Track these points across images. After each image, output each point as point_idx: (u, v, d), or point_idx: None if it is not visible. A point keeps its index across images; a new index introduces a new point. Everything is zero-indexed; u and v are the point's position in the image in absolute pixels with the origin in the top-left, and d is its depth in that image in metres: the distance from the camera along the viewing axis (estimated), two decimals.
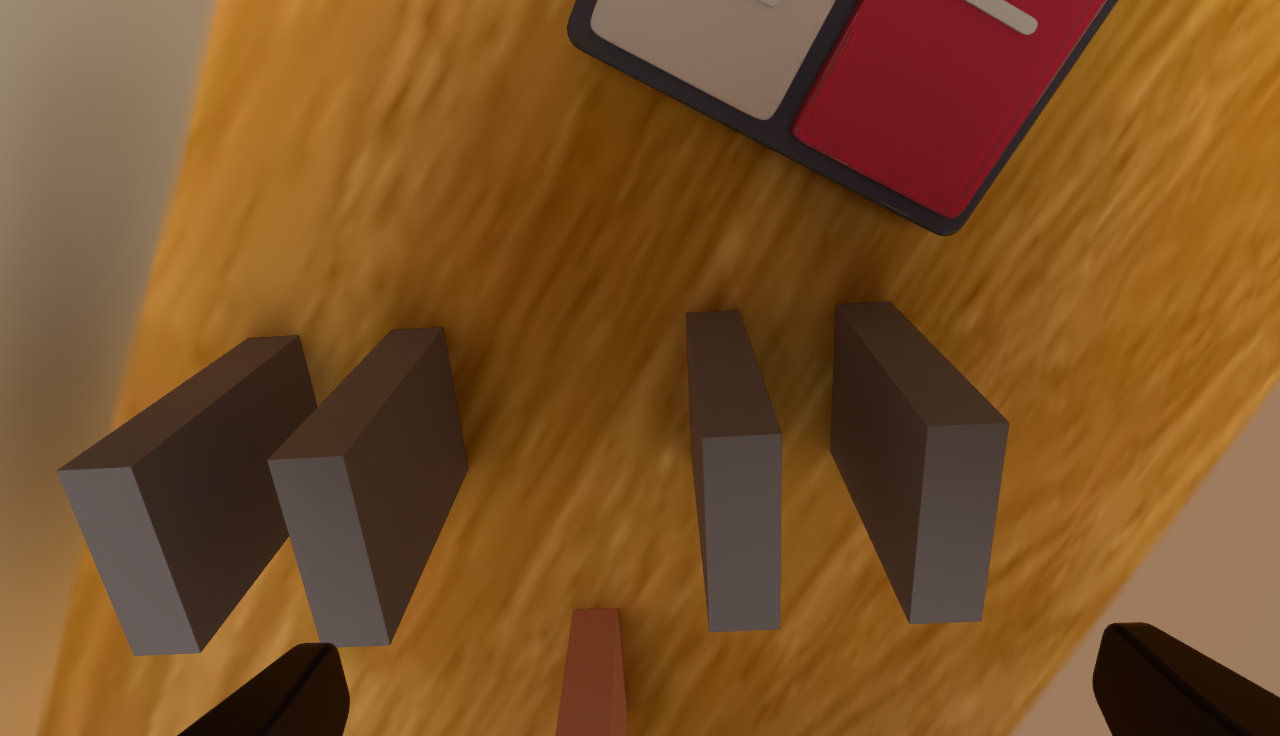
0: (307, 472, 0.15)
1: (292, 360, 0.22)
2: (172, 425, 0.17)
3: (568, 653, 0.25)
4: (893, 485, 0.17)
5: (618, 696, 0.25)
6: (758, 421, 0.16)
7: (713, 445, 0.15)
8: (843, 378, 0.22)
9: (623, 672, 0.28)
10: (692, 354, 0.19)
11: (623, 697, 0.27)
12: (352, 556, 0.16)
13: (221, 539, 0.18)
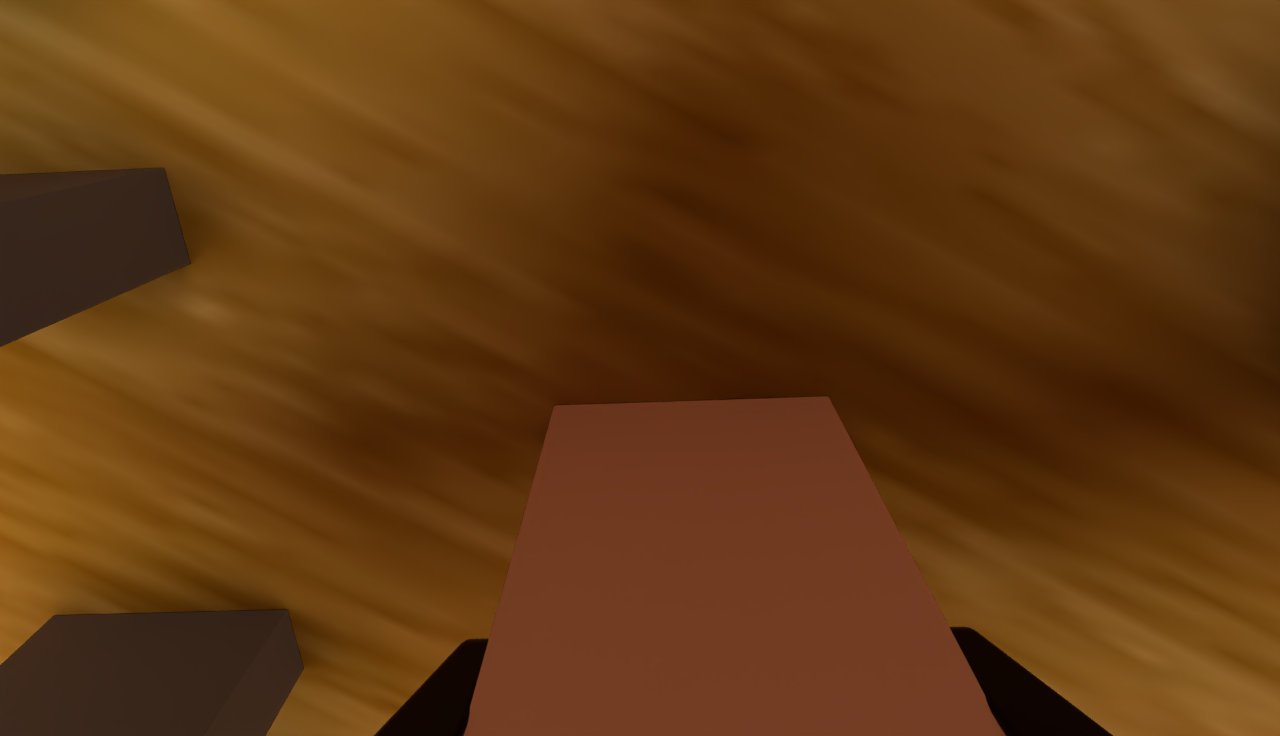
0: None
1: None
2: None
3: None
4: None
5: (646, 468, 0.11)
6: None
7: None
8: None
9: (715, 401, 0.13)
10: None
11: (741, 421, 0.13)
12: None
13: None
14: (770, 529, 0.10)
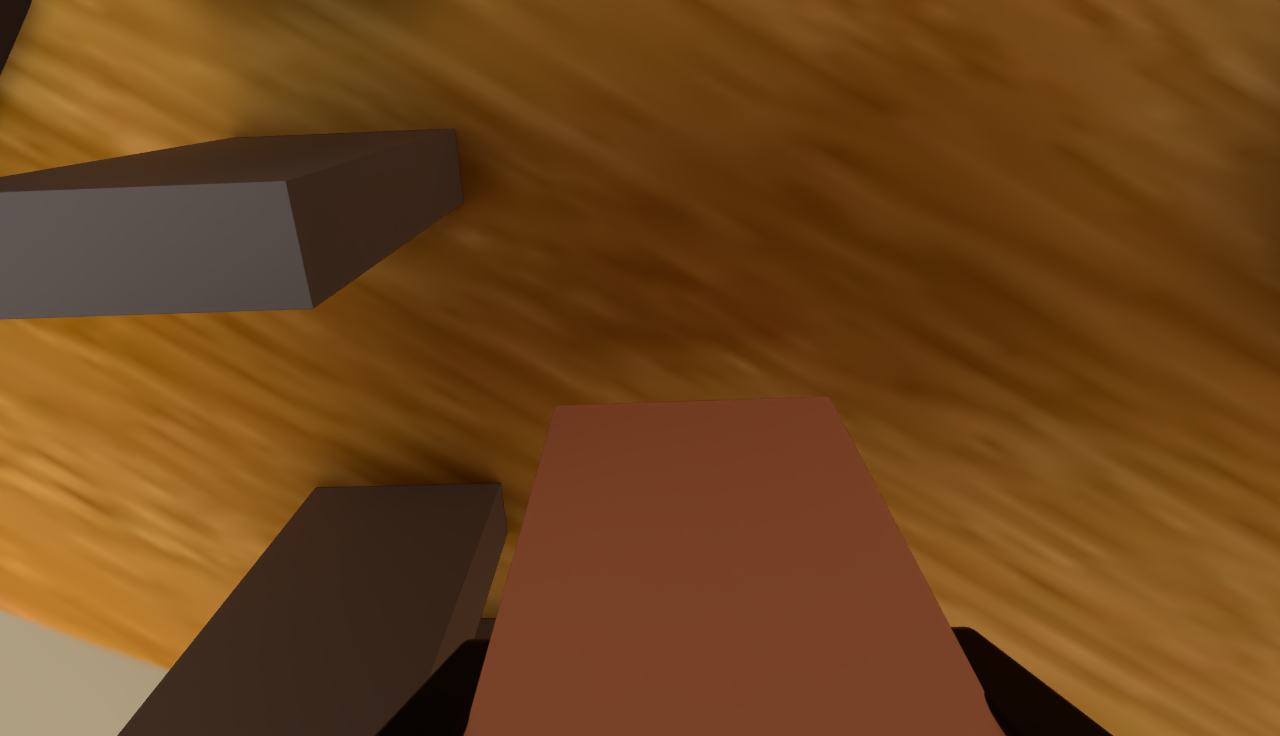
0: None
1: None
2: None
3: None
4: None
5: (647, 469, 0.11)
6: None
7: None
8: None
9: (715, 402, 0.13)
10: None
11: (742, 421, 0.13)
12: None
13: None
14: (772, 530, 0.10)
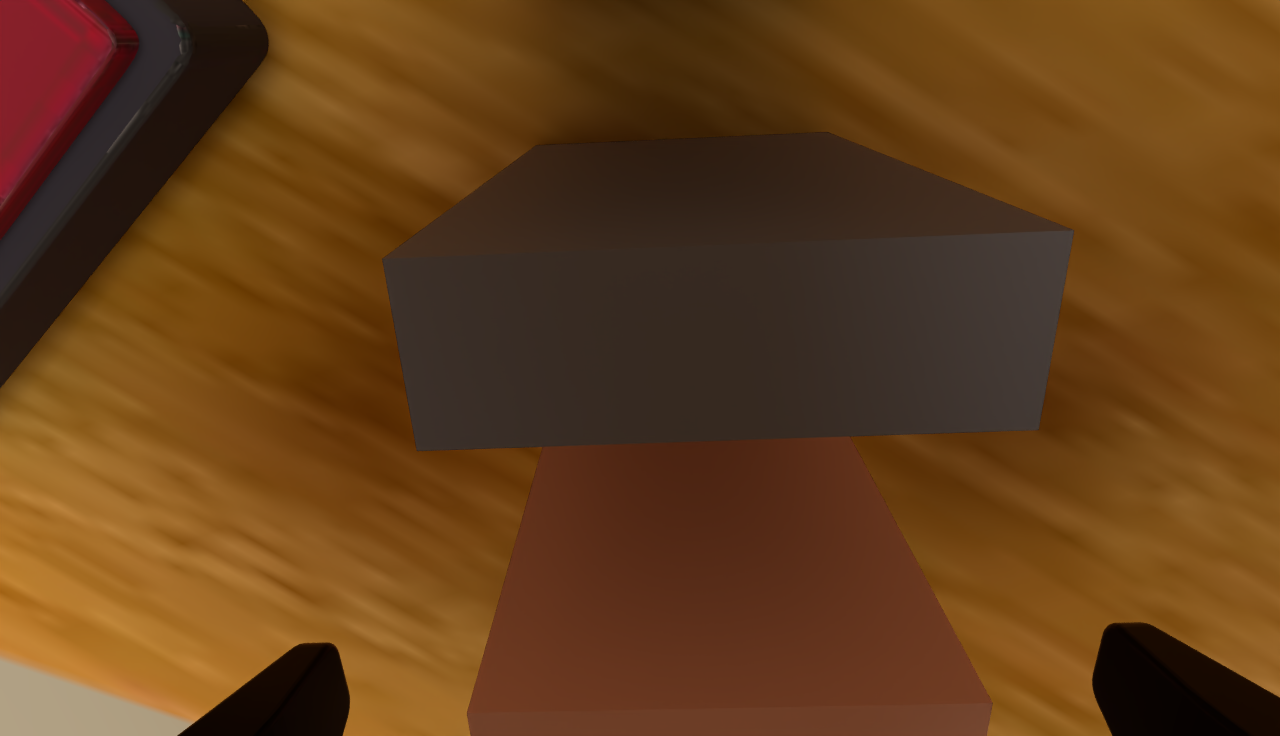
0: None
1: None
2: None
3: None
4: None
5: None
6: None
7: (435, 425, 0.06)
8: None
9: None
10: None
11: None
12: None
13: None
14: (760, 488, 0.11)
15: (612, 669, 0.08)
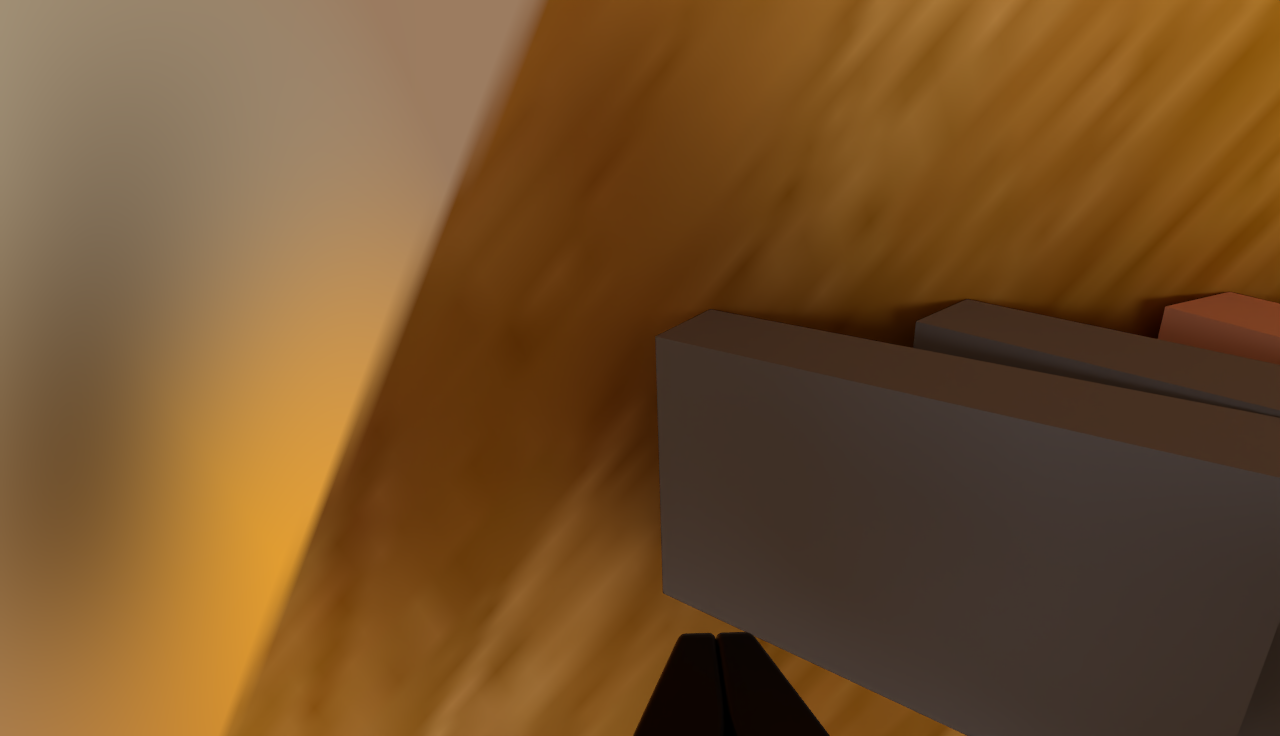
0: None
1: None
2: (1111, 395, 0.09)
3: None
4: None
5: None
6: None
7: None
8: None
9: None
10: None
11: None
12: None
13: None
14: None
15: None
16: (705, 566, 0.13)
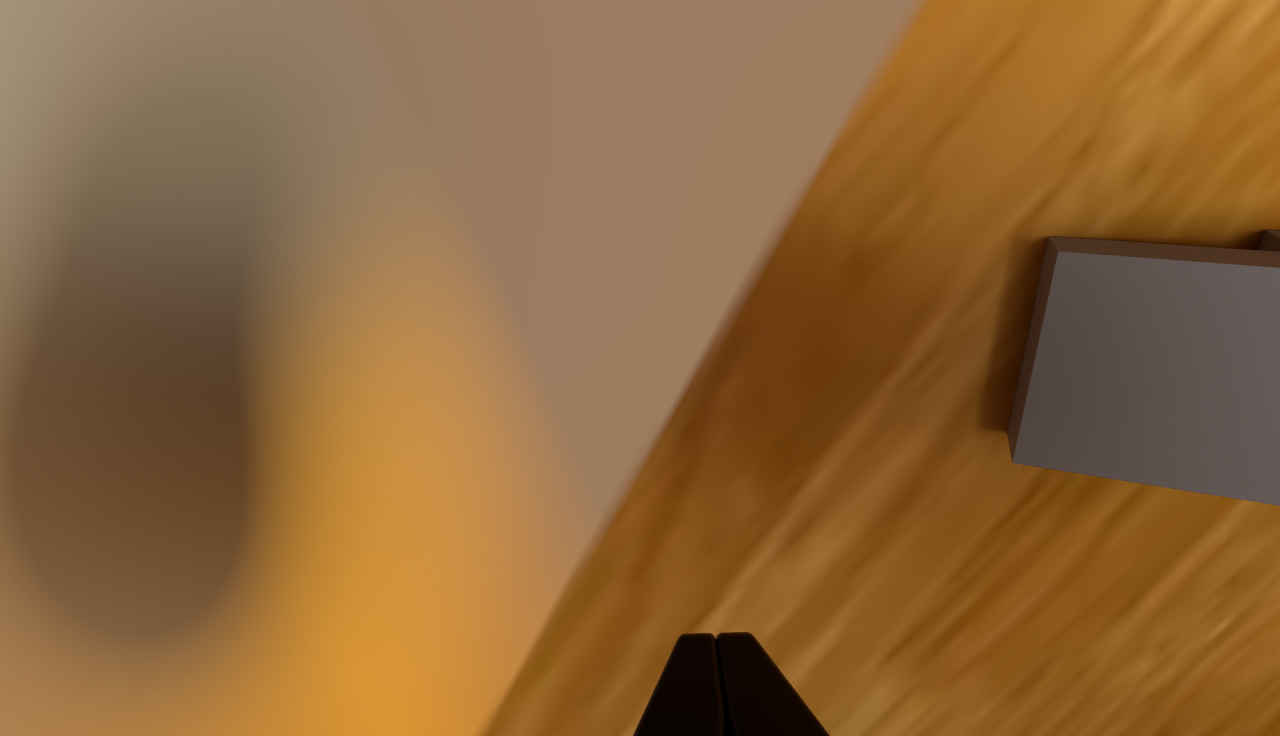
0: None
1: None
2: None
3: None
4: None
5: None
6: None
7: None
8: None
9: None
10: None
11: None
12: None
13: None
14: None
15: None
16: (1066, 431, 0.17)
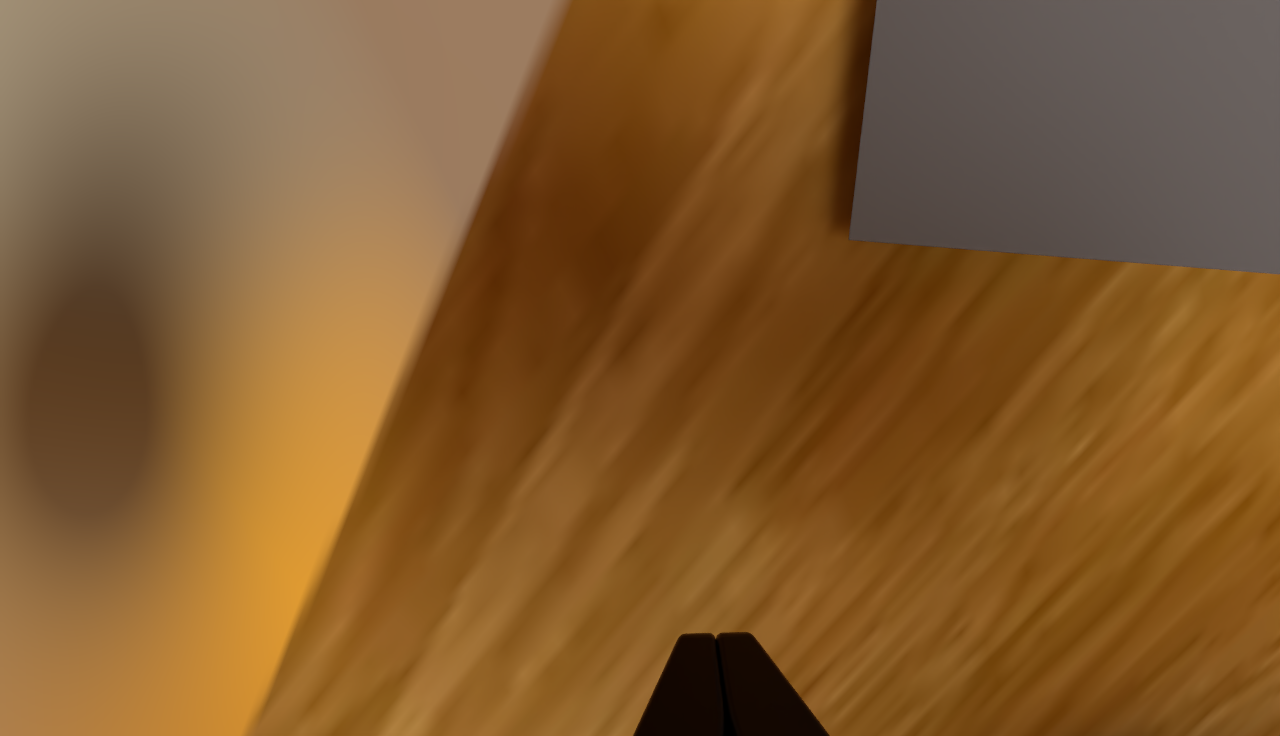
0: None
1: None
2: None
3: None
4: None
5: None
6: None
7: None
8: None
9: None
10: None
11: None
12: None
13: None
14: None
15: None
16: (900, 196, 0.15)
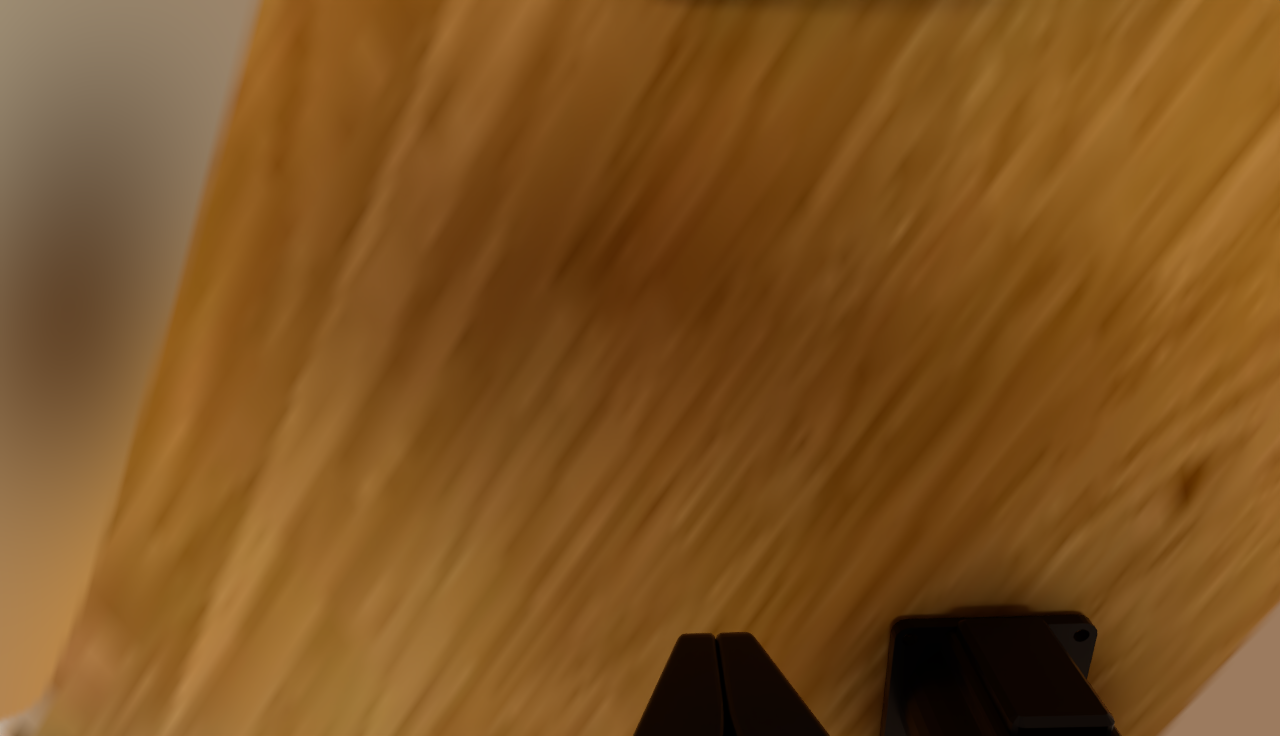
0: None
1: None
2: None
3: None
4: None
5: None
6: None
7: None
8: None
9: None
10: None
11: None
12: None
13: None
14: None
15: None
16: None
